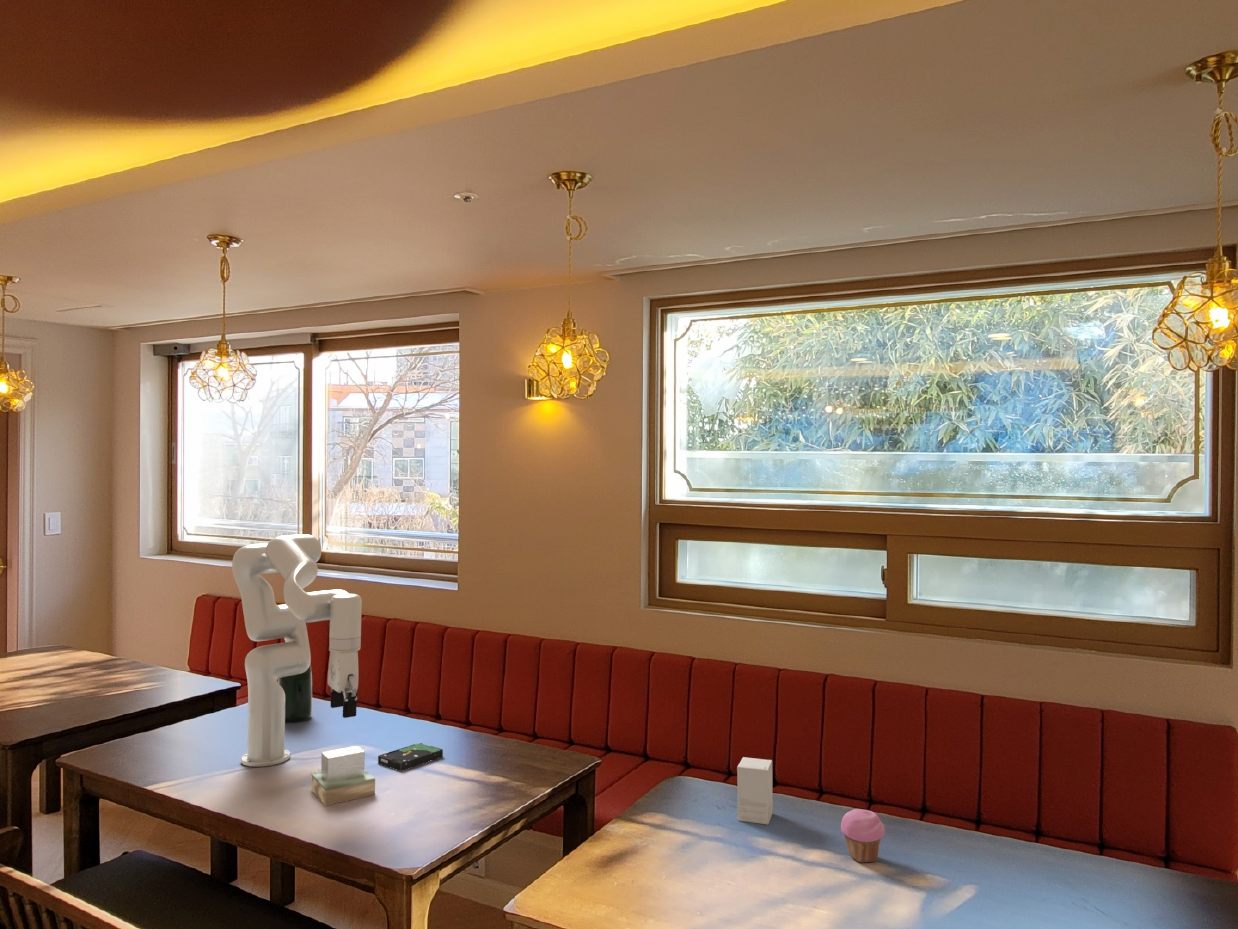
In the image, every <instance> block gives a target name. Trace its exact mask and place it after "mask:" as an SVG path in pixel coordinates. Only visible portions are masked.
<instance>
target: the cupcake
mask: <svg viewBox="0 0 1238 929" xmlns="http://www.w3.org/2000/svg"><path fill="white" fill-rule="evenodd" d="M840 830H841V833H842V834H843V837H844V840H845V844H846V848H847V851H848V854H849V855H850V857H853V859H855V861H856V862H859V863H871V862H876V861H877V860H878V856H879V851H880V844H881V839H883V838H884V837H885V833H886V828H885V825H884V823H882V821H881V819H880V817H879V815H878V814H877V813H875V812H874V811H872V810H868V809H861V808H854V809H851V810H849V811H848V812H846V813H845V814H844V815H843V817H842V819H841V823H840Z"/></svg>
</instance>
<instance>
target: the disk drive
mask: <svg viewBox="0 0 1238 929" xmlns="http://www.w3.org/2000/svg"><path fill="white" fill-rule="evenodd" d="M441 757H442V758H443V757H444V749H442V748H440V747H436V746H433V745H428V744H423V742H420V743H416V744H415V743H414V744H411V745H408V746H405V747H401V748H397V749H394V750H391V751H388V752H385V753H382V754H380V755H378V756H377V764H378V765H381V764H382V766H384V767H387V768H390V767H391V768H390V769H393V768H394V769H393V770H395V769H397V770H396V771H398V772H403V770H404V771H406V769H407V770H409V769H412V768H415V767H418V766H421V765H424V764H426V762H427V763H429V762H428V761H430V760H433V761H436V760H439V759H441ZM430 762H431V761H430ZM423 763H424V764H423ZM411 767H412V768H411ZM408 768H409V769H408Z"/></svg>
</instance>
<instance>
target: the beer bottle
mask: <svg viewBox="0 0 1238 929" xmlns="http://www.w3.org/2000/svg"><path fill="white" fill-rule="evenodd" d="M277 682H278V683H279V685H280V686H281V687H282V688H283V690H284V692H285V723H287V722H288V723H289V722H292V723H299V722H304V721H307V720H309V719H310V718H311V717H312V714H313V675H312V665H311V663H310V666H309V668H308V669H307V670H306V671H305V672H303V673H301V674H297V675H292V676H287V677H282V678H279V679H278V681H277ZM288 723H287V724H288Z"/></svg>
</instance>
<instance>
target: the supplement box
mask: <svg viewBox="0 0 1238 929" xmlns="http://www.w3.org/2000/svg"><path fill="white" fill-rule="evenodd" d="M736 766H737V767H736V772H737V821H739V822H748V823H754V824H762V825H769V824H770V821H771V818H772V816H773V809H774V808H773V806H774V805H773V760H772V759H763V758H755V757H754V758H753V757H747V756H746V757H745V756H743V757H742V758H741V760H740V762H739V763H738V765H736Z"/></svg>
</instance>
